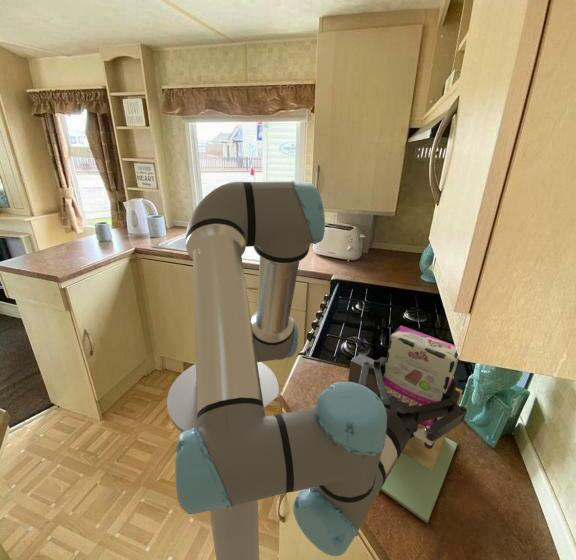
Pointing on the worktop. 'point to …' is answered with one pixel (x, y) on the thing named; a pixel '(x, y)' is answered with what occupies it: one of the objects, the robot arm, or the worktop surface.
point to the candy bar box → (419, 368)
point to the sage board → (418, 481)
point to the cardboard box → (423, 454)
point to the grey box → (356, 370)
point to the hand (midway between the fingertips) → (423, 367)
